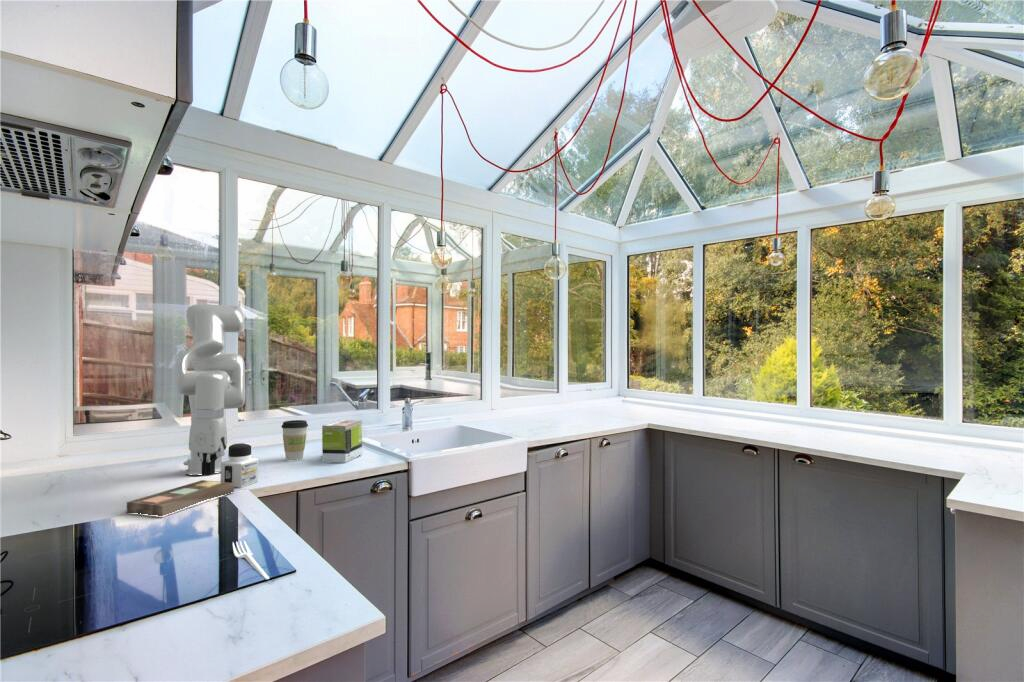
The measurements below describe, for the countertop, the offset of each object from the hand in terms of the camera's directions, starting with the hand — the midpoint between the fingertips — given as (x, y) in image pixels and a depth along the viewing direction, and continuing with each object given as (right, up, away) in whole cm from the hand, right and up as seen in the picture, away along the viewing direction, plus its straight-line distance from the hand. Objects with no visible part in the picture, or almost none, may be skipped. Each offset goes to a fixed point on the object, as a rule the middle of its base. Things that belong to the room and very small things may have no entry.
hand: (208, 474), depth 147 cm
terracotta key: (-4, -5, -16) cm, 18 cm away
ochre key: (0, -6, -1) cm, 6 cm away
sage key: (-2, -5, -9) cm, 10 cm away
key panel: (-2, -6, -9) cm, 10 cm away
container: (+3, -6, +11) cm, 13 cm away
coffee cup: (+5, -7, +48) cm, 48 cm away
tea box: (+24, -7, +49) cm, 55 cm away
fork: (+39, -6, -48) cm, 62 cm away
